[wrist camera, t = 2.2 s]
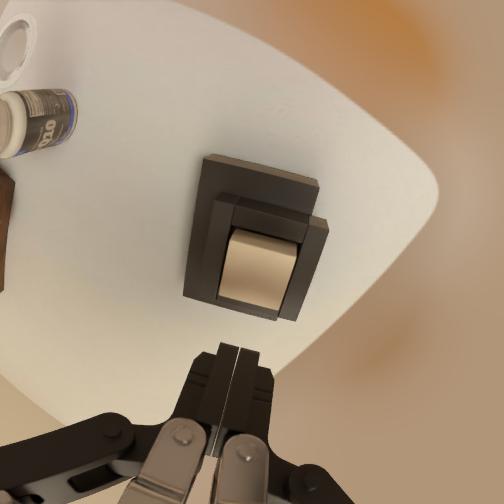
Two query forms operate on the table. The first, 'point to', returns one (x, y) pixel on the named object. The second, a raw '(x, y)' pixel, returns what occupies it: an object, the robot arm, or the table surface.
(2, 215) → the brown flat piece
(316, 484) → the robot arm
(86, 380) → the table surface
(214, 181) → the key box
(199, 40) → the table surface
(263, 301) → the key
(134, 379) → the table surface
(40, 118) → the pill bottle
